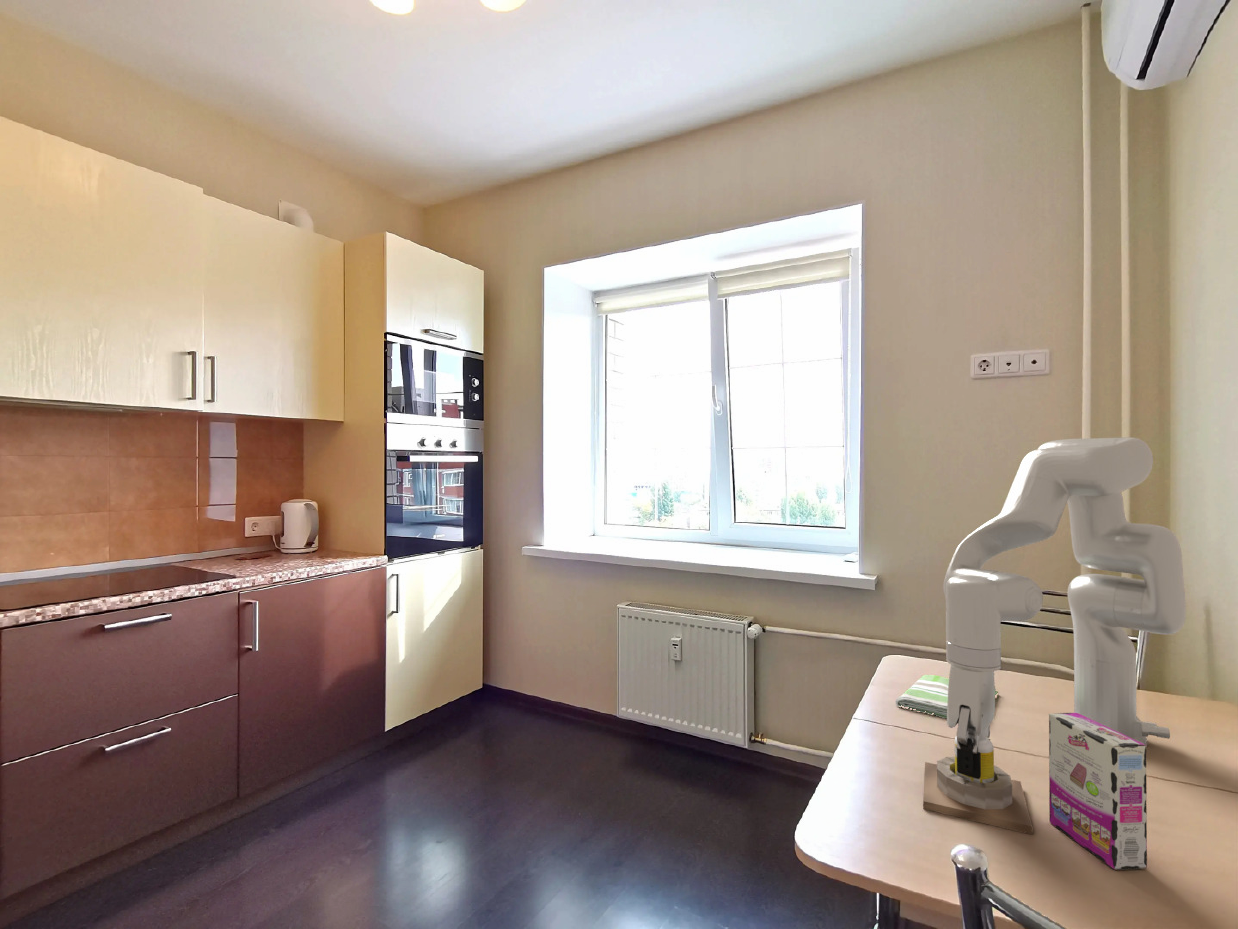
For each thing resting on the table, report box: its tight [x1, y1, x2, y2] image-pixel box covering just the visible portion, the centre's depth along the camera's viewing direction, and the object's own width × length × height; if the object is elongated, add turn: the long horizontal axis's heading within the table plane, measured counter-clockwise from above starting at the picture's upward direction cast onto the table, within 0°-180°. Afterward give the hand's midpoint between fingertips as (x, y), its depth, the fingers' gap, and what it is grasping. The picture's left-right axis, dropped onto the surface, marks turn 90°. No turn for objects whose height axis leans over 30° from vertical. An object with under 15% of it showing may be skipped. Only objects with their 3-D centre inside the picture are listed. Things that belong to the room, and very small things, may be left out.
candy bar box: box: [1048, 712, 1148, 871], centre depth 84 cm, size 11×5×16 cm, turn 5°
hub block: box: [922, 756, 1033, 835], centre depth 96 cm, size 14×14×4 cm
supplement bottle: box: [954, 726, 995, 783], centre depth 96 cm, size 5×5×10 cm
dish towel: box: [895, 674, 999, 719], centre depth 136 cm, size 17×23×4 cm
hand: (973, 767), depth 96 cm, fingers closed on supplement bottle, 5 cm apart
